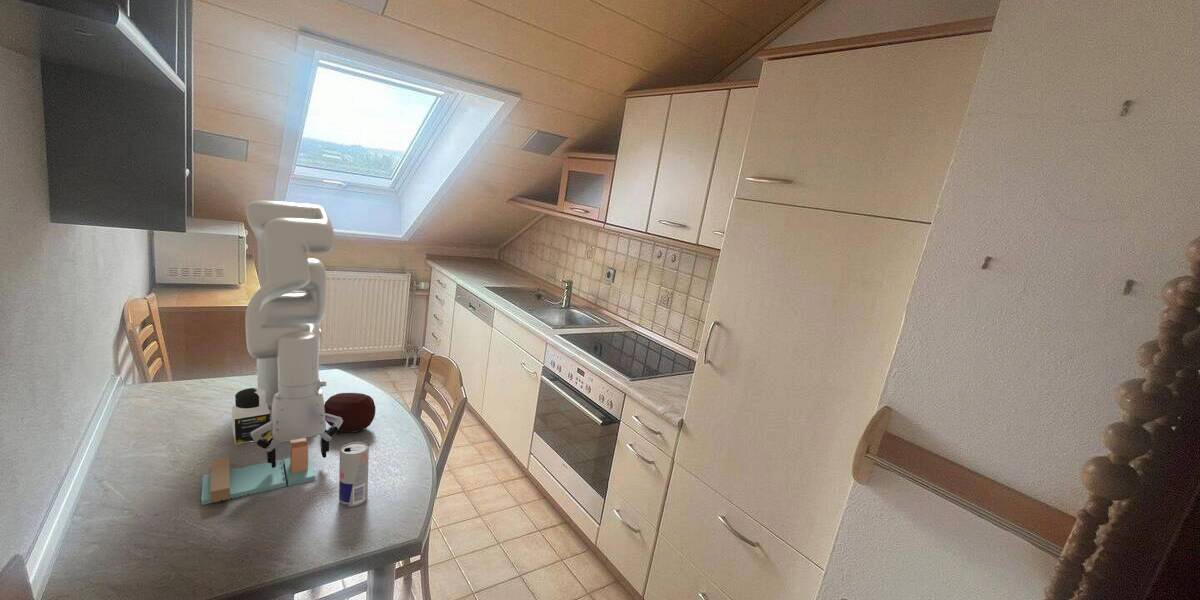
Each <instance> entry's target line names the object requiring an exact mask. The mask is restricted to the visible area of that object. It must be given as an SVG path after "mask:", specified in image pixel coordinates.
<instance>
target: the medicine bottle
mask: <svg viewBox="0 0 1200 600" xmlns="http://www.w3.org/2000/svg"><path fill="white" fill-rule="evenodd" d="M234 400H235V406H232V407H231V421H232V423H231V424H232V425H231V426H232V436H233V439H234V444H235V445H236V444H237V445H241V443H242V444H246V442H248V443H252V442H251V441H253V442H255V441H254V440H253V438H252V437H251V432H252V431H254V430H255V429H257V428H259V427H261V426H263V425H265V424H266V423H268V422H270V421H271V411H270V408H268V406H267V403H266V392H265V391H264V390H263V389H259V388H258V387H249V388H244V389H242V390H240V391H237V392H236V394H235V395H234ZM271 436H272V433H271V430H269V431H267V432H265V433H264V434H262V435H261V437H262V438H264V439H266V440H268V439H269V438H270V437H271ZM267 438H268V439H267Z"/></svg>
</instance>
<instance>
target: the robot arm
mask: <svg viewBox="0 0 1200 600" xmlns="http://www.w3.org/2000/svg"><path fill="white" fill-rule="evenodd" d="M245 216H246V220H247V223H248V225H249V226H250V228H251V231H252V233H253V234H254V236H255V239H256V241H257V274H258V282H259V283H258V284H259V285H260V288H258V290H256V292H255V293H254V294H253V295H252V297H251V298H250V300H249V302H248V304H247V307H246V310H245V339H246V341H245V342H246V347H247V351H248V353H249V355H250V356H251V357H252V358H253V359H257V360H256V365H257V367H256V368H257V374H256V375H257V388H259V389H263V390H264V391H265V392H266V403H267V406H268V408H269V409H271V411H270V422H268V423H266V424H265V425H263V426H261V427H259V428H257V429H255V430H254V431H252V432H251V437H252V438H253V440H254V441H253V442H255V443H256V445H257V446H259V447H260V448H261V449H264V450H265V451H266V463H271V465H272V468H275V467H276V461H277V456H276V455H277V454H276V453H277V451H276V447H277V446H278V445H279V444H280V442H281V443H283V442H287V441H288V442H289V441H290V440H296V439H302V438H306V439H307V438H312V437H317V436H319V437H320V453H321V457H322V458H327V453H329V452H330V441H331V440H332V438H333V436H335V435H336V434H337V432H339V430H338V429H339V428H340V426H341V424H342V422H343V419H342V418H341V417H338V416H334V415H331V414H327V413H325V406H324V405H325V400H324V393H323V390H322V389H321V388H323V387H326V386H327V381H326V379H324V380H323V379H320V377H319V376H320V375H319V374H320V373H319V372H320V371H319V369H320V366H319V365H320V364H319V363H320V360H319V359H320V357H319V356H320V353H319V352H320V351H319V350H320V347H322V345H323V338H324V336H323V331H322V329H321V328H320V326H318V325H319V324H321V323H322V322H323V320H324V318H325V316H326V315H325V314H326V289H327V287H326V286H327V275H326V267H325V265H324V263H323V262H322V261H321V260H320V259H317V258H312V257H309V254H316V255H317V254H318V255H319V254H320V255H321V254H322V255H325V254H329V253H331V252H332V251H333V249H334V247H335V231H334V227H333V224H332V222H331V220H330V217H329V215H328V213H327V210H326V209H325V208H324V207H323V206H322V205H318V204H312V203H302V202H301V203H299V202H289V201H281V200H280V201H278V200H264V199H263V200H253V201H250V202H248V203H247V205H246V207H245ZM295 292H300V293H295ZM301 292H302V293H301ZM326 421H329V422H333V423H334V424H333V426H332V427H331V426H330V428H329V429H327V422H326ZM269 430H271V437H270V438H268V439H264V438H262V437H261V435H262V434H264V433H265V432H267V431H269Z"/></svg>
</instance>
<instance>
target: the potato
mask: <svg viewBox="0 0 1200 600" xmlns="http://www.w3.org/2000/svg"><path fill="white" fill-rule="evenodd" d="M324 406H325V413H327V414H331V415H334V416H338V417H341V418H342V419H343V422H342V424H341V426H340V428H339V429H338V431H340V432H344V433H345V432H346V433H347V432H349V433H357V432H361V431H363V430H366V429H367V428H368V427H369V426H370V425H371V424H372V422H373V421H374V418H375V417H376V404H375V401H374V399H373V398H372V397H371V396H370V395H368V394H365V393H361V392H360V393H359V392H341V393H336V394H333V395H331V396H329V398H327V400H326V401H324ZM326 424H328V425H329V426H330V428H331V427H332V426H333V424H334V423H333V422H329V421H326Z"/></svg>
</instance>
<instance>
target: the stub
mask: <svg viewBox="0 0 1200 600" xmlns="http://www.w3.org/2000/svg"><path fill="white" fill-rule="evenodd" d="M289 441H290V442H289V446H290V448H289V451H290V452H289V455H290V456H289V458H284V459H283V467H284V472H285V477H286V482H287V486H288V487H289V486H294V485H300V484H303V483H308V482H312V481H315V480H316V474H315V470H314V468H313V467H314V466H313V463H312V460H311V457H310V454H309V444H308V441H307V438H301V439H295V440H289Z"/></svg>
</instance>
